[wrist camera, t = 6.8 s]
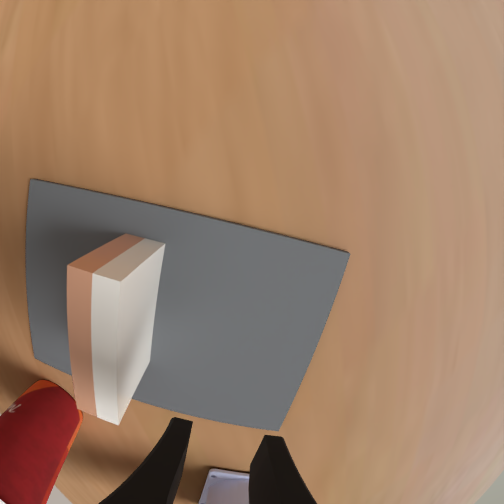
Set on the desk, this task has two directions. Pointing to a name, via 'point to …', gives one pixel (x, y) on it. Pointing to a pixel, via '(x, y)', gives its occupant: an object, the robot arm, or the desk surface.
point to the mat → (191, 301)
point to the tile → (112, 322)
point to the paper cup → (36, 442)
